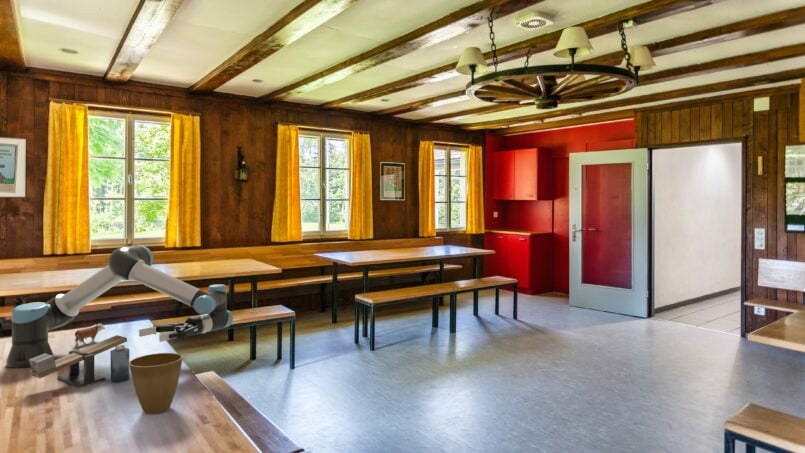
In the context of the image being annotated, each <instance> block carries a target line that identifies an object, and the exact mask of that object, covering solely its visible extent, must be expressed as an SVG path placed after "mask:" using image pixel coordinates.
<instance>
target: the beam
mask: <svg viewBox="0 0 805 453" xmlns="http://www.w3.org/2000/svg"><path fill="white" fill-rule="evenodd" d="M127 342H128V339H127V337H125V336H122V335H118V334H116V335H113V336H111V337H109V338H107V339H104V340H102V341H100V342H97V343H96V342H95V343H94V344H92V345H89V346H87V347H85V348H82V349H78V350H77V349H73V350H74V351H73V352H72V354H69V353H68V354H67V355H65V356H62V357H60V358H57V359H55V358H54V355H53V356H52V355H49V354H46V353H45V354H42V355H40V356H37V357H34V358H32V359H29V362H30V365H31V367H30V369H31V370H29V373H30V376H33V377H35V378H38V379H42V378H45V377H47V376H49V375H52V374H54V373H57V372H58V371H61V370H63V369H65V368H69V366H71V365H73V364H75V363H78V362H79V363H80V362H82V361H84V356H87V355H91V354H94V356H96V355H99V354H101V353H103V352H106V351H108V350H110V349H111V350H112V349H113V348H114V347H115V346H118V345H123V344H124V343H127Z"/></svg>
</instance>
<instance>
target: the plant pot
mask: <svg viewBox="0 0 805 453" xmlns="http://www.w3.org/2000/svg"><path fill="white" fill-rule="evenodd" d="M182 361H183V355H182V354H179V353H175V352H174V353H173V352H158V353H152V354H151V353H150V354H145V355H142V356H138V357H135V358H133V359H131V360H129V372H130V376H131V380H132V384H133V387H134V391H135V394H136V397H137V400H138V402H139V404H140V405H139V406H140V407H141V410H142V412H143V413H144V414H148V415H155V414H161V413H164V412H166V411H168V410H169V409H170V408H171V405H172V403H173V400H174V398H175V394H176V391H177V387H178V383H179V379H180V374H181V369H182V363H183V362H182Z"/></svg>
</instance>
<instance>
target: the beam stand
mask: <svg viewBox="0 0 805 453" xmlns="http://www.w3.org/2000/svg"><path fill="white" fill-rule="evenodd" d="M74 350H75V349H72V350H69V351H68V355H69V354H72V352H73V351H74ZM76 350H79V349H76ZM56 379H57V380H60V381H62V382H65V383H66V384H69V385H72V386H75V387H77V388H82V387H87V386H89V385H92V384H97V383H101V382H104V381H106V380H107V377H106V376H103V375H100V374H97V373H95V355H94V354H91V355H87V356H84V360H83V369H81V370H80V362H78V363H75V364H73V365H71V366H68V373H65V374H59V375H57V378H56Z"/></svg>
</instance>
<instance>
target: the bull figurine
mask: <svg viewBox="0 0 805 453" xmlns="http://www.w3.org/2000/svg"><path fill="white" fill-rule="evenodd" d="M105 329H106V327H104V325H103V324H102V323H98V324H94V325H92V326H89V327H86V328H82V329H77V330H76V331H75V332H74V336H75V338H74V339H75V340H74V342H75V345H76V346H79V344H82V345H87V343H86V341H85V340H87V338H91V342H92V343H96V341H95V338H96V336H97V335H98V334H99V332H100V331H103V330H105ZM84 339H85V340H84Z"/></svg>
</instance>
